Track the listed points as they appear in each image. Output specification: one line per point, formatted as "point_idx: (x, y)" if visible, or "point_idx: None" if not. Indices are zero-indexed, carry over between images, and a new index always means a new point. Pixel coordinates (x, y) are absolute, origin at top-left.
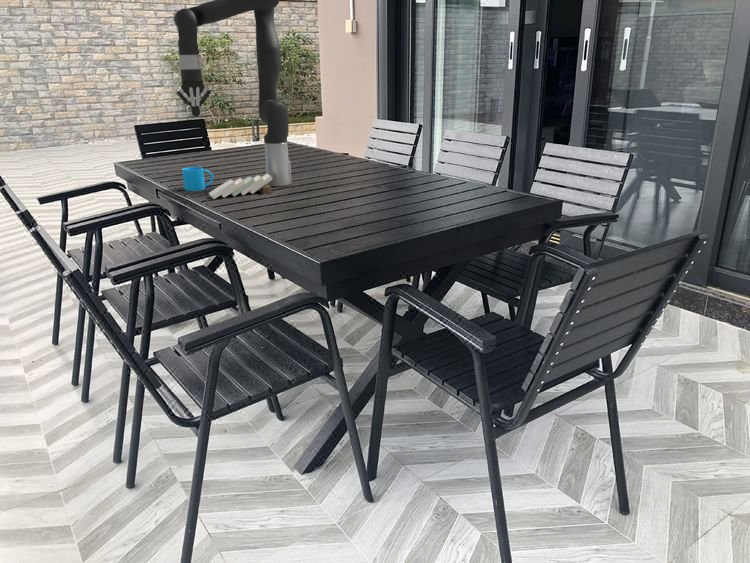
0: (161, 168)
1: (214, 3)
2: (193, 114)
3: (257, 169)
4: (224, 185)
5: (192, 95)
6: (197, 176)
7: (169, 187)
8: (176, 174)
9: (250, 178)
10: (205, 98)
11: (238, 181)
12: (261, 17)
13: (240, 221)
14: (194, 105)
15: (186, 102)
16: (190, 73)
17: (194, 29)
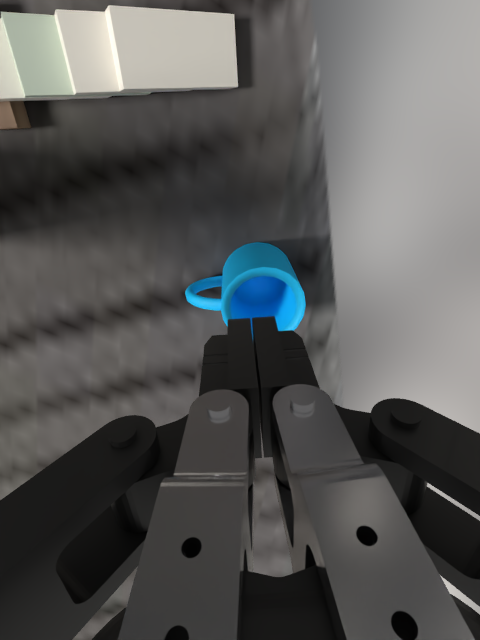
0: (284, 554)
1: None
2: (289, 335)
3: (33, 464)
4: (163, 44)
5: (363, 569)
6: (251, 259)
7: (326, 333)
8: (266, 485)
9: (19, 41)
10: (14, 515)
11: (87, 43)
12: None
13: None
14: (282, 395)
15: (450, 428)
16: None
17: None
